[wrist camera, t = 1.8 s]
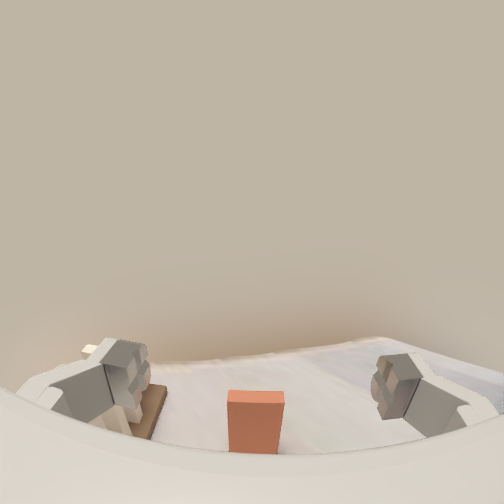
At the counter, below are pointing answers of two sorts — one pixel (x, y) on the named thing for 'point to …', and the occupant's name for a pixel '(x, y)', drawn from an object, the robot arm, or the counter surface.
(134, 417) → the ivory tile
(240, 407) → the rust tile
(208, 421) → the counter surface
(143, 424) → the walnut board
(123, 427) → the ivory tile
